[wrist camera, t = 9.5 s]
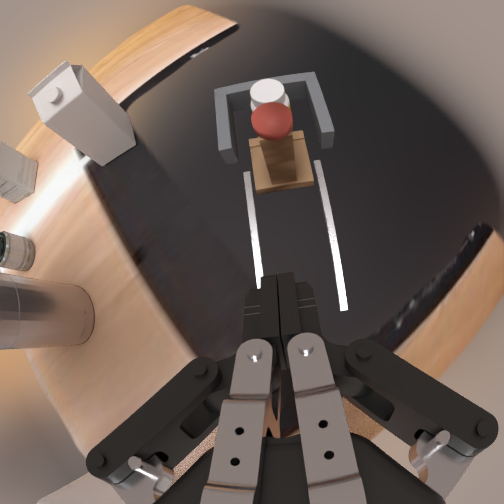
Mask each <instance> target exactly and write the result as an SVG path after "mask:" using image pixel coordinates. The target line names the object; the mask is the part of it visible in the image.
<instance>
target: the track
mask: <svg viewBox="0 0 504 504" xmlns="http://www.w3.org/2000/svg"><path fill="white" fill-rule="evenodd" d="M314 168H315V172H316V176H317V181H318V185H319V190H320V195H321V199H322V205H323V210H324V215H325V219H326V225H327V230H328V236H329V241H330V247H331V253H332V259H333V265H334V271H335V278H336V285H337V291H338V299H339V306H340V311H344V310H348V307H347V300H346V293H345V286H344V279H343V273H342V266H341V260H340V254H339V249H338V243H337V238H336V232H335V227H334V222H333V217H332V212H331V207H330V202H329V197H328V193H327V188H326V184H325V179H324V175H323V171H322V167H321V163H320V160H316V161H314ZM244 181H245V189H246V197H247V204H248V214H249V222H250V230H251V238H252V247H253V254H254V263H255V271H256V280H257V288H260V277H261V276H264V273H263V265H262V257H261V249H260V241H259V234H258V226H257V217H256V210H255V203H254V195H253V187H252V179H251V173H250V171H248V172H244Z"/></svg>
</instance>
